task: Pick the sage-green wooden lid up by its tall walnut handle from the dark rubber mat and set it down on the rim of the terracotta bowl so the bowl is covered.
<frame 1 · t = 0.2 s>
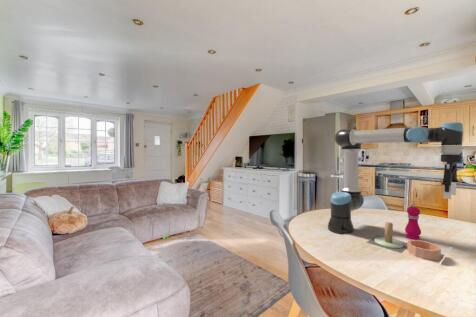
hand: (449, 196, 110), 28 cm above the table, fingers open, 13 cm apart
pepper mill: (412, 239, 127), on the table
mat: (388, 244, 120), on the table
bowl: (423, 255, 107), on the table
lid: (388, 243, 120), point 1 cm above the table, touching mat
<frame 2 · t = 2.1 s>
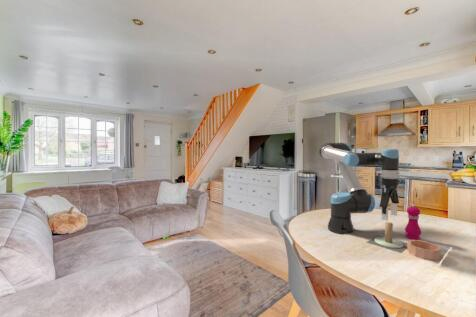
hand: (389, 217, 119), 15 cm above the table, fingers open, 13 cm apart
nothing on the table moved.
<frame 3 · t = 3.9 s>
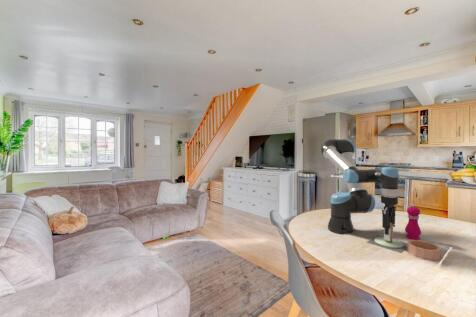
hand: (388, 239, 120), 3 cm above the table, fingers closed on lid, 3 cm apart
lid: (388, 243, 120), point 1 cm above the table, touching gripper
everything else where it was.
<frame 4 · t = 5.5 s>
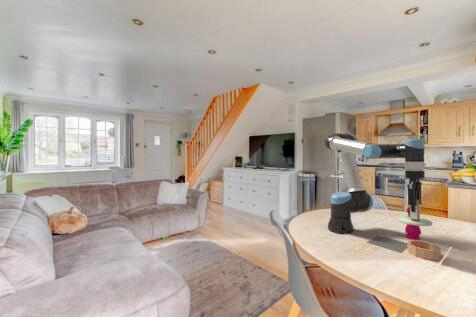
hand: (415, 217, 109), 18 cm above the table, fingers closed on lid, 3 cm apart
lid: (415, 222, 109), point 15 cm above the table, touching gripper
everything else where it was.
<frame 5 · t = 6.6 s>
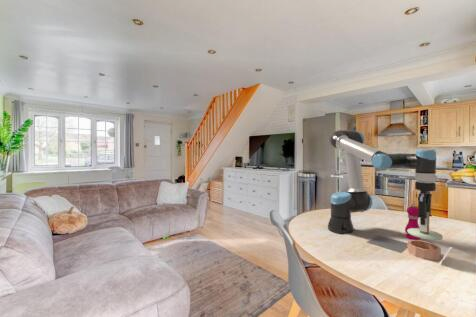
hand: (424, 230, 107), 12 cm above the table, fingers closed on lid, 3 cm apart
lid: (424, 234, 107), point 10 cm above the table, touching gripper
everything else where it was.
when the fingers open (9 cm above the table, at t = 7.4 s): lid drops 2 cm, resting on bowl.
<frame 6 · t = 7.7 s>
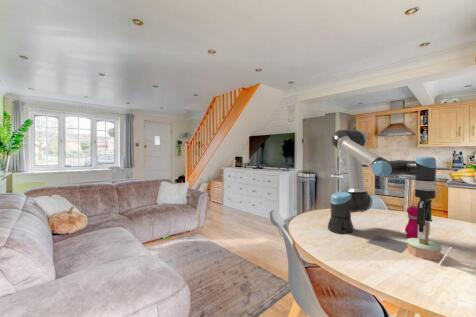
hand: (423, 236, 107), 9 cm above the table, fingers open, 8 cm apart
lid: (423, 245, 107), point 5 cm above the table, touching bowl
everything else where it was.
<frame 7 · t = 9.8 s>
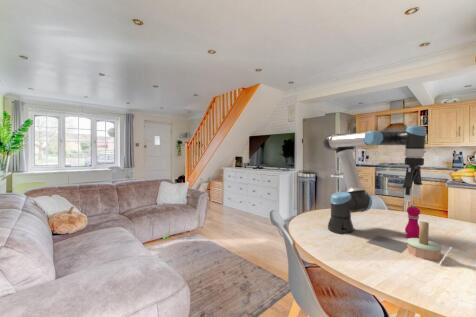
hand: (411, 199, 112), 26 cm above the table, fingers open, 13 cm apart
nothing on the table moved.
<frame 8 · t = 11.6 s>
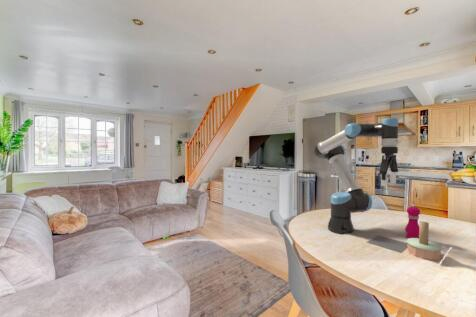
hand: (388, 184, 123), 32 cm above the table, fingers open, 13 cm apart
nothing on the table moved.
at the end: lid 0.0 cm off-centre on the bowl, point 5.0 cm above the bowl's base; lid tilted 0°; the gripper is holding nothing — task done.
